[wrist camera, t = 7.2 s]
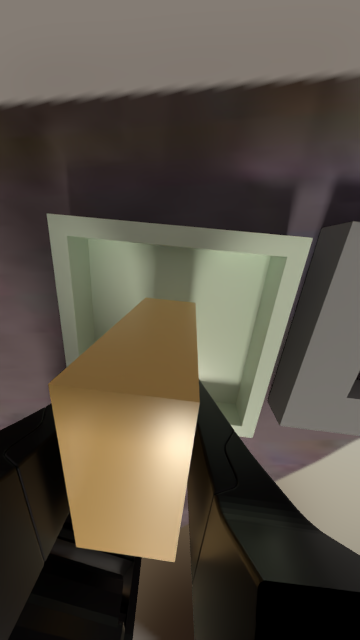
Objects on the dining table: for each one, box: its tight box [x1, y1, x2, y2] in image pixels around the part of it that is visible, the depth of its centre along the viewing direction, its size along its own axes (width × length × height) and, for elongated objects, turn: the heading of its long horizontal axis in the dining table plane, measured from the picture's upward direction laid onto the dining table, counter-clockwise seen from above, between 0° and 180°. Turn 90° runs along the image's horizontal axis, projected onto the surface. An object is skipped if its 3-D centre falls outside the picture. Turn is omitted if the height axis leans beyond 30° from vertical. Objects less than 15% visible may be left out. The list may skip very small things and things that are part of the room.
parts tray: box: [47, 214, 313, 438], centre depth 14 cm, size 14×14×3 cm
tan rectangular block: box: [48, 298, 200, 562], centre depth 8 cm, size 6×3×8 cm, turn 175°
